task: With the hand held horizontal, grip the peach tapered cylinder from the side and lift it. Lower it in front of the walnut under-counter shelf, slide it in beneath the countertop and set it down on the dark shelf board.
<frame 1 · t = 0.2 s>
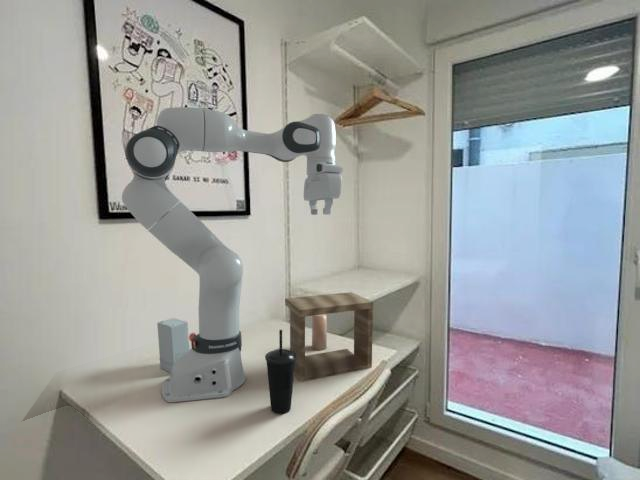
hand: (320, 214, 108), 48 cm above the table, tool pointing down, fingers open, 8 cm apart
peach tapered cylinder: (319, 347, 125), on the table
under counter shelf: (327, 364, 111), on the table
drinking cup: (281, 409, 86), on the table
skincare box: (174, 368, 108), on the table
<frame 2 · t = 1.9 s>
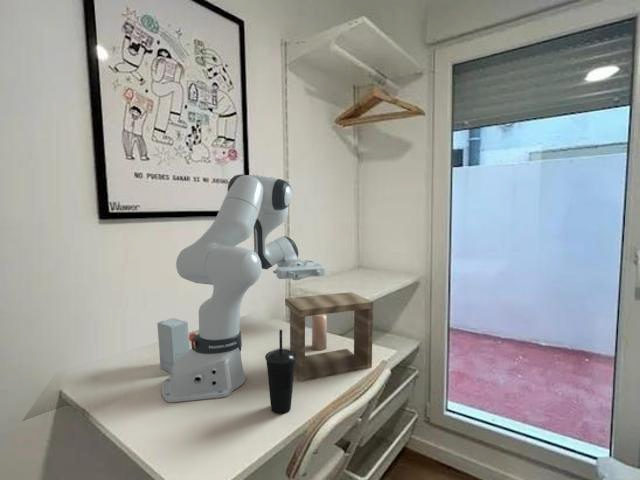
hand: (307, 275, 134), 24 cm above the table, tool horizontal, fingers open, 8 cm apart
nothing on the table moved.
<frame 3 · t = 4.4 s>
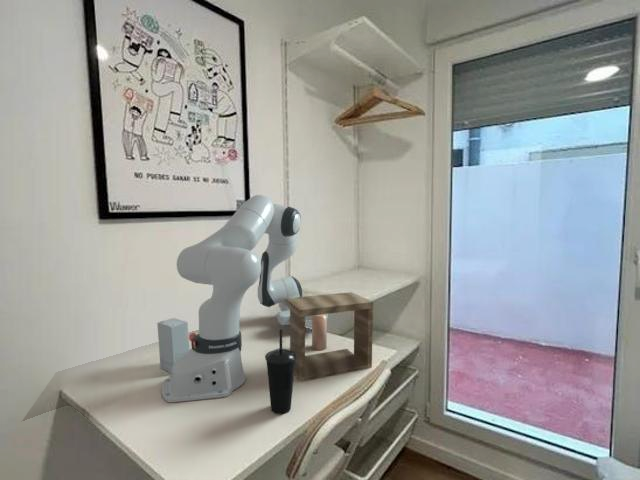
hand: (309, 321, 132), 7 cm above the table, tool horizontal, fingers open, 8 cm apart
nothing on the table moved.
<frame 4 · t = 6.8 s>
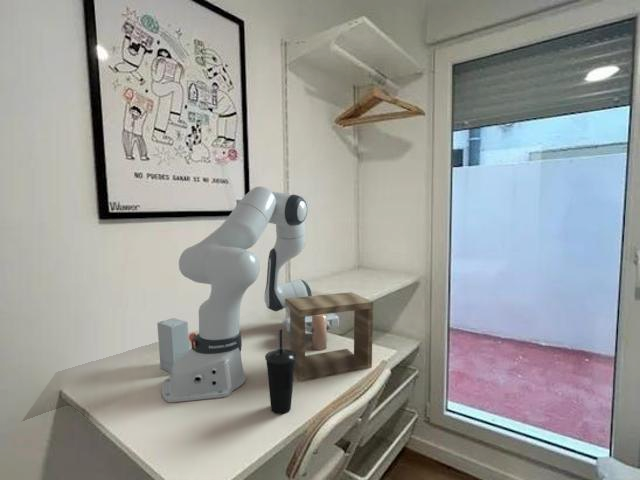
hand: (320, 329, 124), 7 cm above the table, tool horizontal, fingers closed on peach tapered cylinder, 5 cm apart
peach tapered cylinder: (319, 347, 125), on the table, touching gripper
everything else where it was.
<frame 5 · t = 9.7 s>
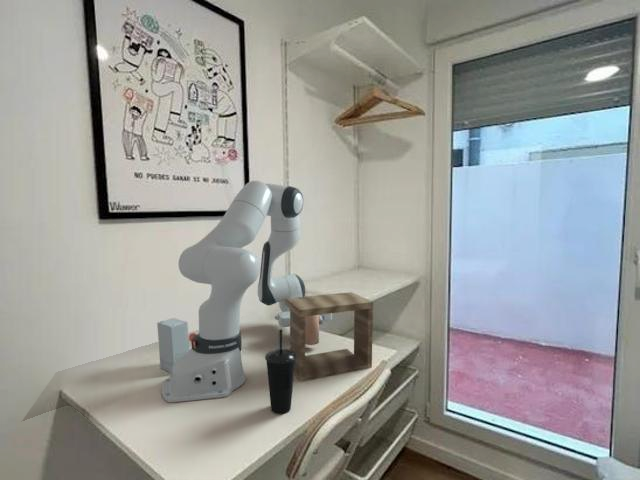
hand: (312, 323, 122), 9 cm above the table, tool horizontal, fingers closed on peach tapered cylinder, 5 cm apart
peach tapered cylinder: (311, 342, 123), point 2 cm above the table, touching gripper
everything else where it was.
when the fingers open (9 cm above the table, at t = 13.0 s): peach tapered cylinder stays where it is, resting on under counter shelf.
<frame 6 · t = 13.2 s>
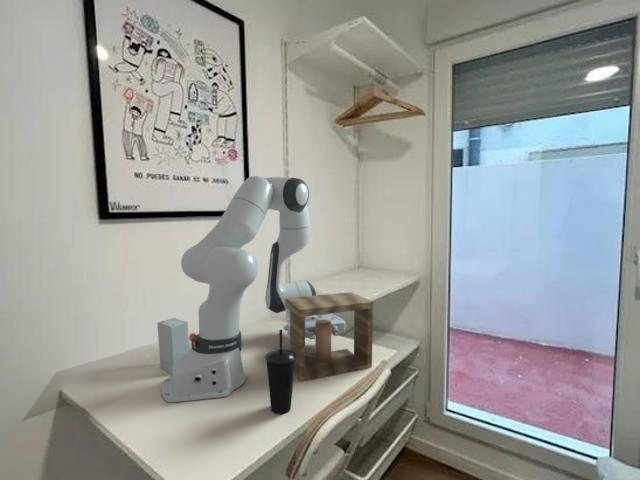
hand: (325, 335, 112), 9 cm above the table, tool horizontal, fingers open, 7 cm apart
peach tapered cylinder: (323, 358, 114), point 1 cm above the table, touching under counter shelf
everything else where it was.
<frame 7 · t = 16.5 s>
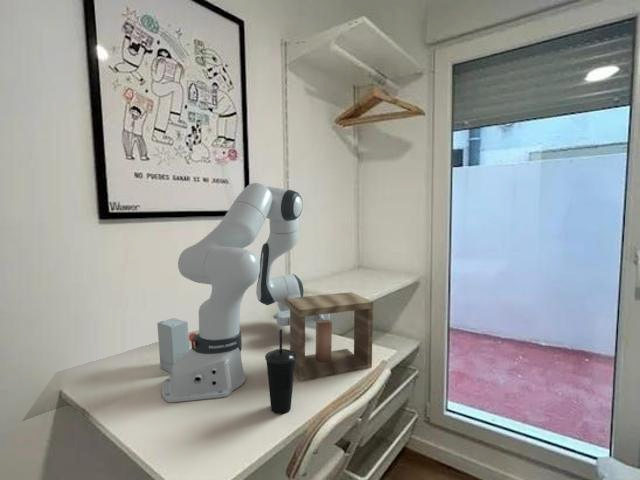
hand: (310, 322, 124), 9 cm above the table, tool horizontal, fingers open, 8 cm apart
nothing on the table moved.
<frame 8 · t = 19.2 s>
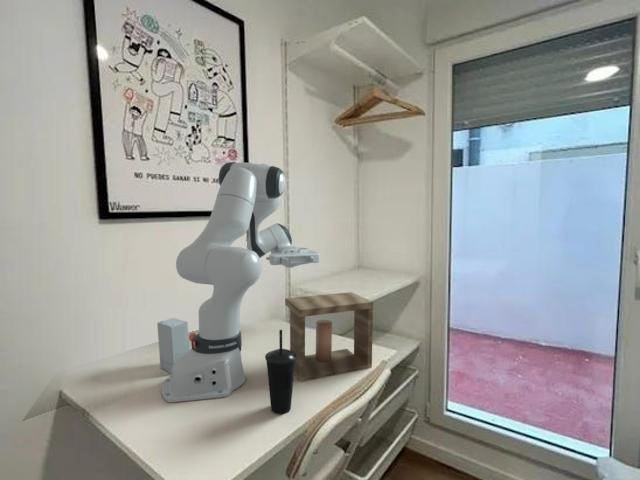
hand: (300, 261, 131), 30 cm above the table, tool horizontal, fingers open, 8 cm apart
nothing on the table moved.
at the end: peach tapered cylinder inside the target area on the under counter shelf (2.5 cm from its centre), point 1.0 cm above the under counter shelf's base; peach tapered cylinder tilted 1°; the gripper is holding nothing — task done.
